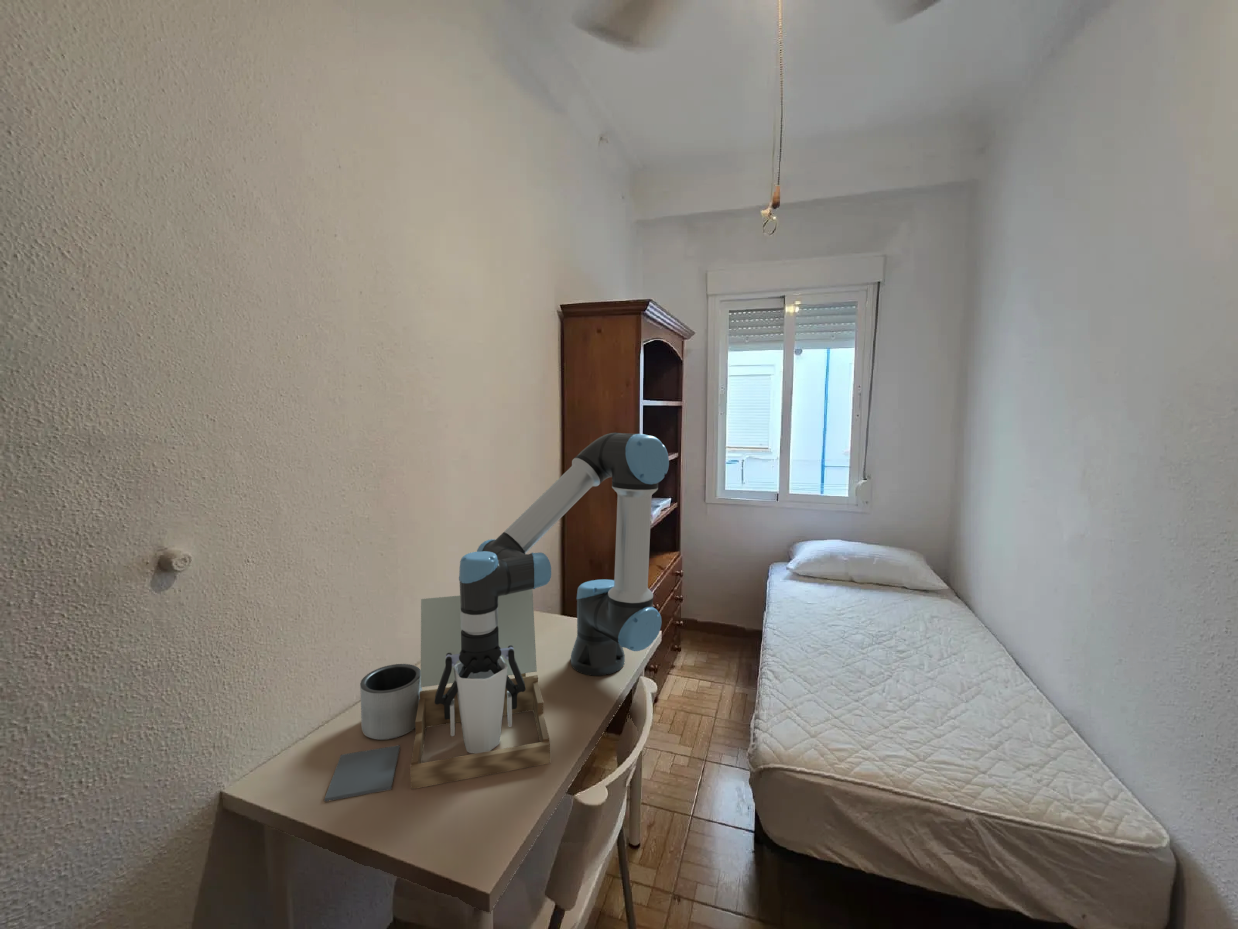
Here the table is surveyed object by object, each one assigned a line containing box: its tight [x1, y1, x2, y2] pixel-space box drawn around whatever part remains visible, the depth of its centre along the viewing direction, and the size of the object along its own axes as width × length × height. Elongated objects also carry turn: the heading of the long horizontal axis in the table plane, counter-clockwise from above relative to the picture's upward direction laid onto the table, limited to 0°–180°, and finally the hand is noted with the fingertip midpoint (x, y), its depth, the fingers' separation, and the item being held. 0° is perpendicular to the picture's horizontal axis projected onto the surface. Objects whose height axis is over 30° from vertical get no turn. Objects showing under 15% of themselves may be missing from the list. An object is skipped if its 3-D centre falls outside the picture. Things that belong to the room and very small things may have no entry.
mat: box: [324, 744, 401, 802], centre depth 97 cm, size 11×12×1 cm
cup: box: [453, 656, 508, 754], centre depth 106 cm, size 11×10×17 cm
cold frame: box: [409, 673, 551, 790], centre depth 108 cm, size 26×25×16 cm
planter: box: [359, 663, 423, 741], centre depth 112 cm, size 13×13×11 cm
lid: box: [420, 589, 538, 688], centre depth 118 cm, size 26×19×1 cm
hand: (481, 727), depth 106 cm, fingers closed on cup, 11 cm apart
